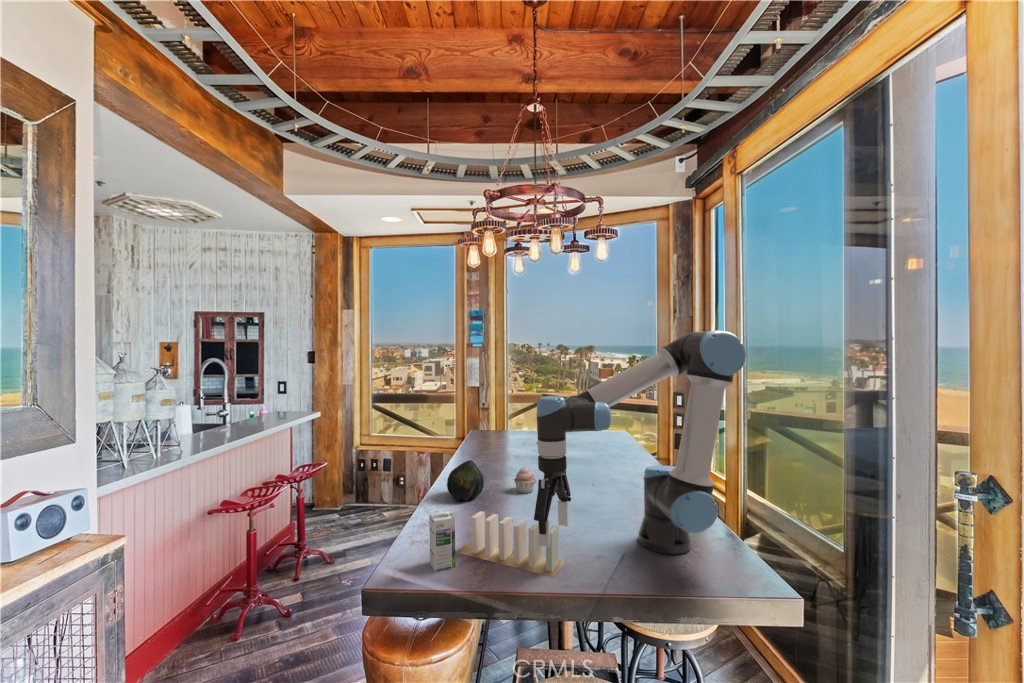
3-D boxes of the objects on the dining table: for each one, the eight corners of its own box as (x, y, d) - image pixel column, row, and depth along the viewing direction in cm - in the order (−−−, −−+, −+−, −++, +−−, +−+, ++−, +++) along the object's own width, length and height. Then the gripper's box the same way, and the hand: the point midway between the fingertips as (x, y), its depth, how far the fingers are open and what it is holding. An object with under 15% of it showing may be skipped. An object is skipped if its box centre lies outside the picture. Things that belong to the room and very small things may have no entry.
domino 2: (498, 549, 130) (498, 514, 130) (489, 556, 125) (489, 520, 125) (493, 548, 130) (493, 513, 130) (484, 555, 126) (484, 519, 126)
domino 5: (541, 559, 123) (541, 523, 123) (534, 567, 119) (534, 529, 119) (536, 558, 124) (536, 522, 124) (528, 566, 120) (528, 528, 120)
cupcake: (541, 490, 184) (541, 466, 184) (526, 496, 177) (526, 471, 177) (523, 486, 190) (523, 462, 190) (509, 491, 183) (509, 467, 183)
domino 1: (485, 546, 132) (484, 512, 132) (476, 553, 127) (475, 518, 127) (480, 545, 132) (480, 511, 132) (471, 552, 128) (471, 517, 128)
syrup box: (434, 576, 117) (434, 520, 117) (429, 566, 122) (429, 512, 122) (455, 571, 119) (455, 517, 119) (449, 561, 125) (449, 509, 125)
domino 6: (558, 563, 121) (558, 526, 121) (551, 572, 117) (551, 533, 117) (552, 562, 122) (552, 525, 122) (546, 570, 117) (546, 532, 117)
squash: (435, 488, 170) (461, 459, 170) (445, 478, 185) (469, 451, 185) (462, 515, 169) (489, 485, 168) (470, 502, 184) (495, 475, 183)
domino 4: (526, 556, 125) (526, 520, 125) (518, 563, 121) (518, 526, 121) (521, 554, 126) (521, 519, 126) (513, 562, 122) (513, 525, 122)
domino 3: (512, 552, 127) (512, 517, 127) (504, 560, 123) (504, 523, 123) (507, 551, 128) (507, 516, 128) (498, 559, 124) (498, 522, 124)
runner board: (565, 565, 122) (565, 561, 122) (553, 581, 114) (553, 576, 114) (471, 543, 136) (471, 539, 136) (454, 556, 128) (454, 551, 128)
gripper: (556, 443, 132) (558, 515, 132) (518, 465, 110) (521, 552, 110) (580, 445, 129) (582, 519, 129) (547, 469, 106) (549, 558, 107)
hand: (554, 535), depth 119 cm, fingers open, 13 cm apart
